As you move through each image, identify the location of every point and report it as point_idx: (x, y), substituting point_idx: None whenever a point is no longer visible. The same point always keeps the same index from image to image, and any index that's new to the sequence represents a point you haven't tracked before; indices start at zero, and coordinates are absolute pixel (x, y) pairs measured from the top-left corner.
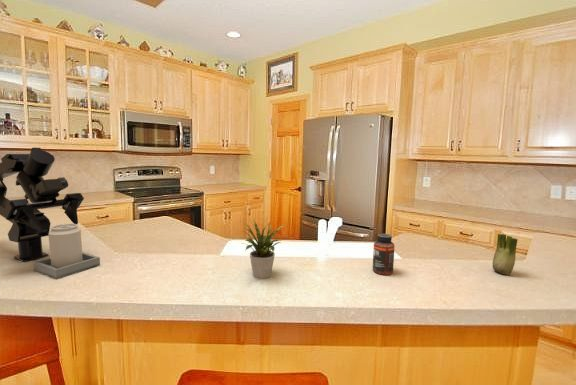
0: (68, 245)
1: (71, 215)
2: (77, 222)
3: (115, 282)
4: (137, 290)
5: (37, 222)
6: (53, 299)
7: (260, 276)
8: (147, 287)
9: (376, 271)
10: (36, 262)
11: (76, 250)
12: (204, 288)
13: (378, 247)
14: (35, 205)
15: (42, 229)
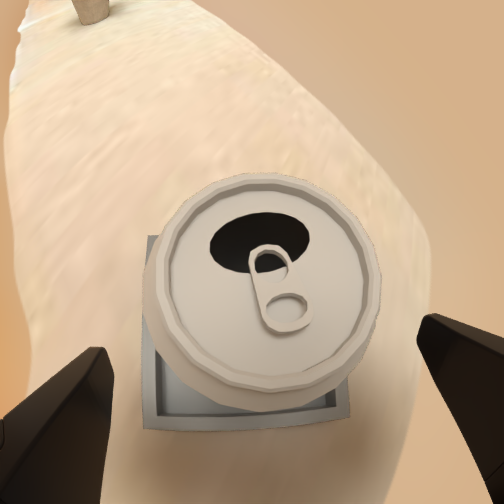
0: (274, 232)
1: (70, 472)
2: (94, 349)
3: (225, 109)
4: (226, 63)
5: (491, 340)
6: (356, 142)
7: (108, 12)
8: (207, 60)
9: None
10: (345, 400)
11: (230, 246)
12: (167, 24)
13: None
14: None
15: (431, 314)
